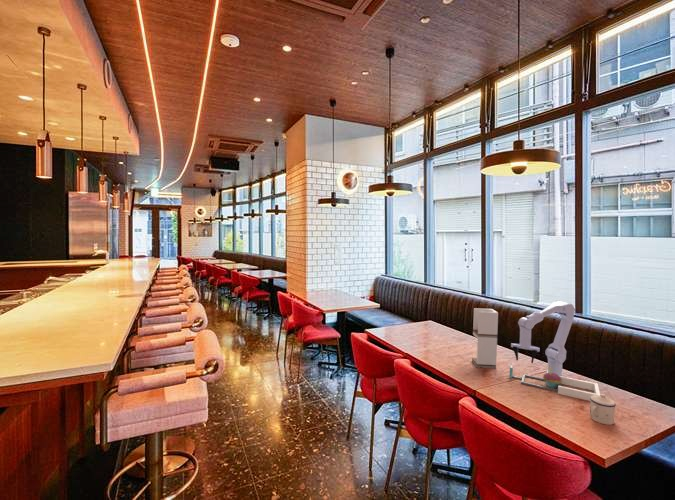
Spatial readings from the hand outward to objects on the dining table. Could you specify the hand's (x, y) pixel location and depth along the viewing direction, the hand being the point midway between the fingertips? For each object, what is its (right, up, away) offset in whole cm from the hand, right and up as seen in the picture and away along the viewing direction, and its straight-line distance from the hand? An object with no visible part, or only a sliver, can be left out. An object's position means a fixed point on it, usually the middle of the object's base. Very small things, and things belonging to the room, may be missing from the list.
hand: (524, 361), depth 198 cm
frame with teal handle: (+1, -9, -8) cm, 12 cm away
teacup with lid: (+8, -12, -46) cm, 48 cm away
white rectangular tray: (+17, -10, -18) cm, 27 cm away
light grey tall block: (-16, -8, +18) cm, 26 cm away
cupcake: (+8, -10, -12) cm, 18 cm away
